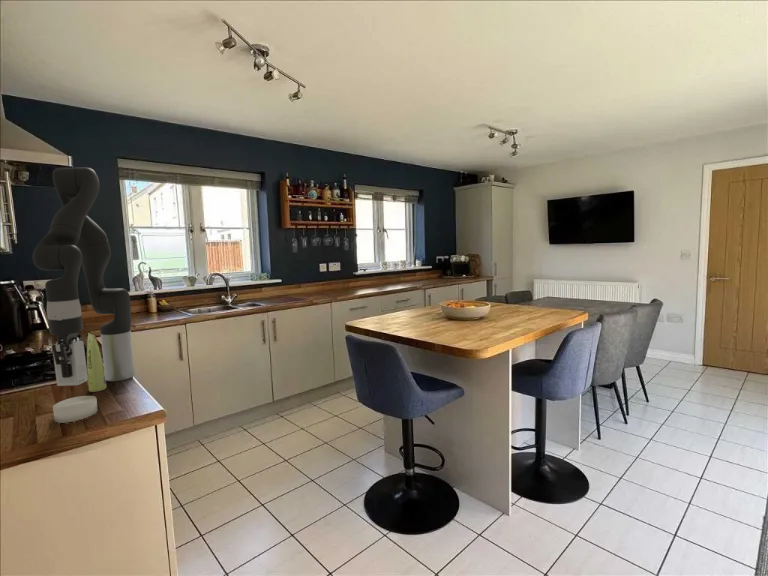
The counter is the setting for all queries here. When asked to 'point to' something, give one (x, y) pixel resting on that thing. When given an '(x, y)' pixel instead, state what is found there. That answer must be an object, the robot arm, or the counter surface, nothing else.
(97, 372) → the tube
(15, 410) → the counter surface
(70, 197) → the robot arm
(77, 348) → the skincare box
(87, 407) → the stand
